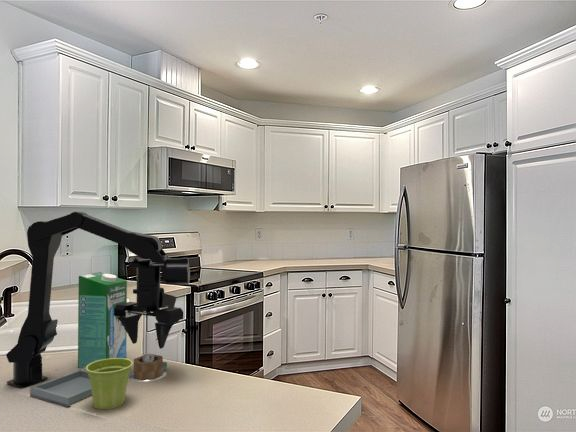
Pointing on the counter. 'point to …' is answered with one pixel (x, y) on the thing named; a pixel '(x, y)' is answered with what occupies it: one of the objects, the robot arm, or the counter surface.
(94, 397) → the plant pot
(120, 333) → the milk carton
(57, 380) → the tray
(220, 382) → the counter surface
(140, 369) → the ring
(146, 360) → the grey peg stand
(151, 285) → the robot arm
